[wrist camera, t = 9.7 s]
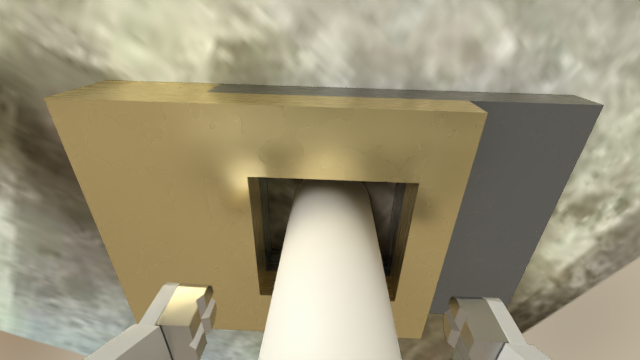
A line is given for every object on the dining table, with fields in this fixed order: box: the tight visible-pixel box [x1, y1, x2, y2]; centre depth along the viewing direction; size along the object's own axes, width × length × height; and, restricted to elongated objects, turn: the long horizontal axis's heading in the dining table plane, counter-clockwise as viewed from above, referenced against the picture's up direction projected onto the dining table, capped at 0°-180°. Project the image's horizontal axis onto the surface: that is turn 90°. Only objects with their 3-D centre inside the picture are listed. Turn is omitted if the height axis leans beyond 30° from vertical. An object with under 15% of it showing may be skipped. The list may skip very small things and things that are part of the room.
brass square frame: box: [44, 80, 604, 339], centre depth 14 cm, size 20×12×3 cm, turn 89°
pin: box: [258, 179, 402, 360], centre depth 12 cm, size 4×4×9 cm
